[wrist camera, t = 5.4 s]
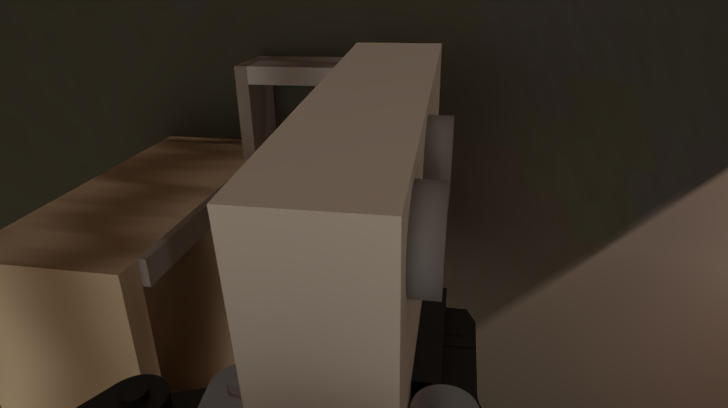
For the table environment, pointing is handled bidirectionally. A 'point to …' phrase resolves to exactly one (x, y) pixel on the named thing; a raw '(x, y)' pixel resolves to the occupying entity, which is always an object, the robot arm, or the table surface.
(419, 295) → the door
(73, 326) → the cabinet
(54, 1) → the table surface
